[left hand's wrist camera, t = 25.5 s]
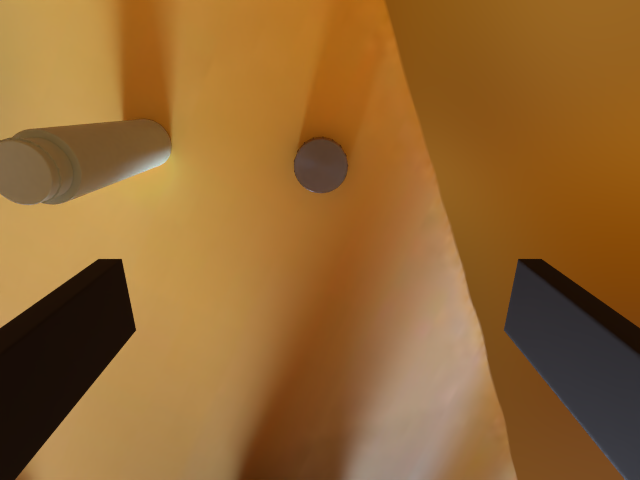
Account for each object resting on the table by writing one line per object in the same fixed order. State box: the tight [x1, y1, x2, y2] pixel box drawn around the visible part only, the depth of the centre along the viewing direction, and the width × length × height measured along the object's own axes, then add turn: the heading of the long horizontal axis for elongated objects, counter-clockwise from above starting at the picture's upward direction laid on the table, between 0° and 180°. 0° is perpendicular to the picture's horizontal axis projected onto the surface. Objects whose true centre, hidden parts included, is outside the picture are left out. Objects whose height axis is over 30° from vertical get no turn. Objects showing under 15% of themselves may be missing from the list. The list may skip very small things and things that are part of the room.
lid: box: [294, 137, 348, 193], centre depth 38 cm, size 5×5×2 cm
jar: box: [0, 119, 171, 205], centre depth 30 cm, size 5×5×17 cm
